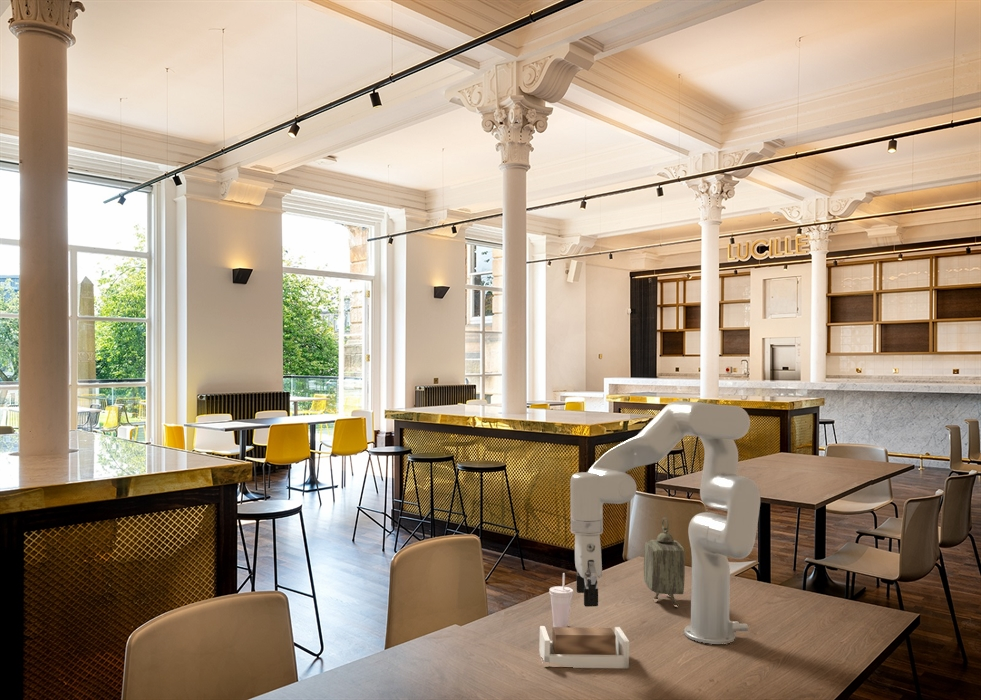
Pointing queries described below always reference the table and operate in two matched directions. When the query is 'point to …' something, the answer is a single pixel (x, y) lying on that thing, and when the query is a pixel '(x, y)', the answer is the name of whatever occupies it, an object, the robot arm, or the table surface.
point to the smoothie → (561, 604)
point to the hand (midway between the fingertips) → (587, 599)
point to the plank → (583, 641)
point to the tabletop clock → (664, 565)
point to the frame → (586, 660)
